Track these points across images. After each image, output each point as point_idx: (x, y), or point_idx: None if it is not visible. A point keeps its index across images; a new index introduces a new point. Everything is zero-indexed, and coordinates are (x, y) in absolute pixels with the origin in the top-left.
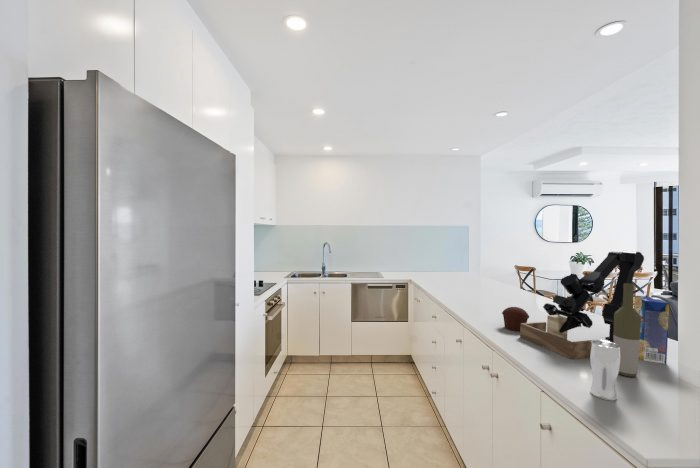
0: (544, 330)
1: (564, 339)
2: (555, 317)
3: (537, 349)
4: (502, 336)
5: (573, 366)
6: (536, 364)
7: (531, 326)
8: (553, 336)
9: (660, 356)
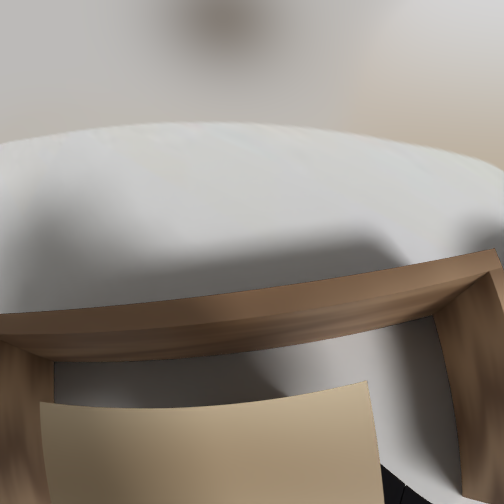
0: (484, 490)
1: (24, 322)
2: (130, 442)
3: (201, 262)
4: (428, 199)
5: (5, 279)
6: (72, 157)
7: (497, 362)
8: (109, 307)
9: None
